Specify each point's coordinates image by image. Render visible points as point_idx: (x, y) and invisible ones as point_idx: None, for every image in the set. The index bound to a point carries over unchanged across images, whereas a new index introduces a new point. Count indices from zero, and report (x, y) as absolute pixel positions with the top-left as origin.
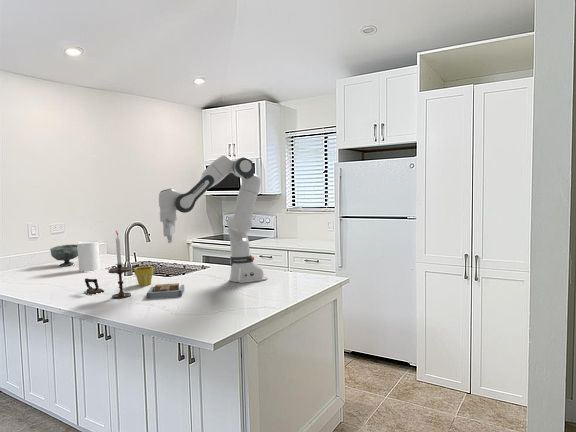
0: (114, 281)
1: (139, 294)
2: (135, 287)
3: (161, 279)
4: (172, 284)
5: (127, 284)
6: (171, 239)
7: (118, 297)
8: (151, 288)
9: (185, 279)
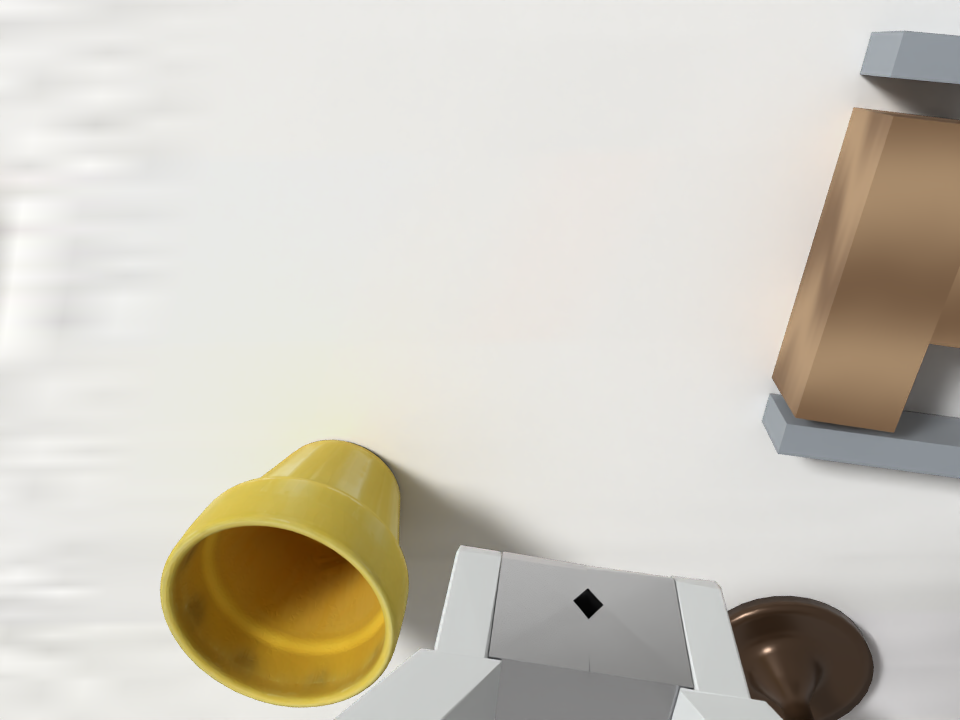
0: (124, 714)
1: (789, 529)
2: (442, 565)
3: (122, 333)
4: (922, 210)
5: None
6: (593, 668)
7: (866, 688)
8: (877, 453)
9: (188, 23)
